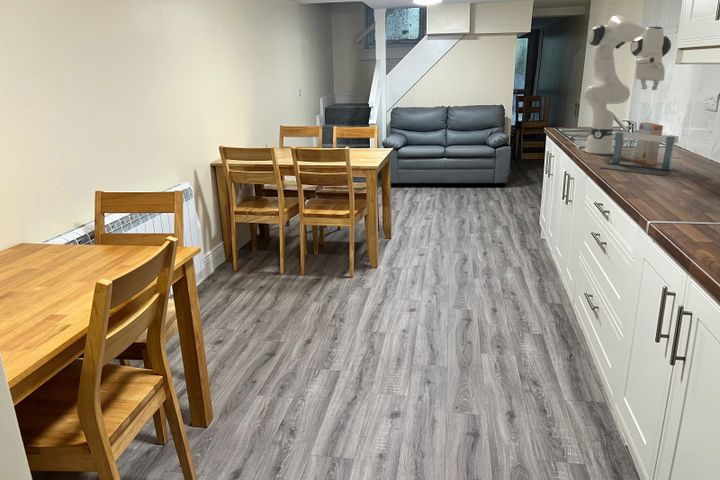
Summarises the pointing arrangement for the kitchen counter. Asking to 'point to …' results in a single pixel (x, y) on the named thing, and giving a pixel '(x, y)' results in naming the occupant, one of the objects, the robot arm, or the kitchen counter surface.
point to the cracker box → (648, 144)
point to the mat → (634, 170)
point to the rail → (646, 137)
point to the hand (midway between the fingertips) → (649, 89)
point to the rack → (617, 162)
